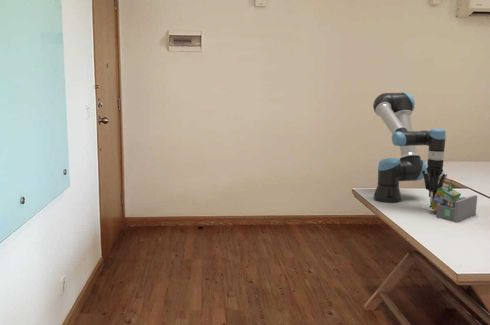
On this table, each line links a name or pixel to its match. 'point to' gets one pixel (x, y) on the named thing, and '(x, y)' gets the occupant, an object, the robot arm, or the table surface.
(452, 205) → the paddle
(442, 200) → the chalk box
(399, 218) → the table surface
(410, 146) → the robot arm
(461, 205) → the stand
